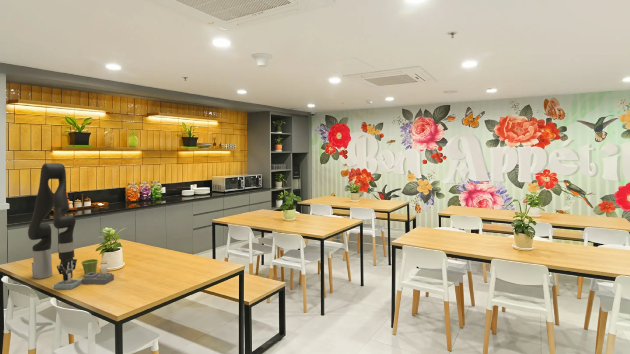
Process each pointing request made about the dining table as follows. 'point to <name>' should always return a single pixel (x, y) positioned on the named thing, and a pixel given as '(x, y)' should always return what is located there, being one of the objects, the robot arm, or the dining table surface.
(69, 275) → the fuse
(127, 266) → the dining table surface
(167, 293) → the dining table surface
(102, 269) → the fuse
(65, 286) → the parts tray
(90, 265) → the plant pot
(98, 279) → the fuse block
